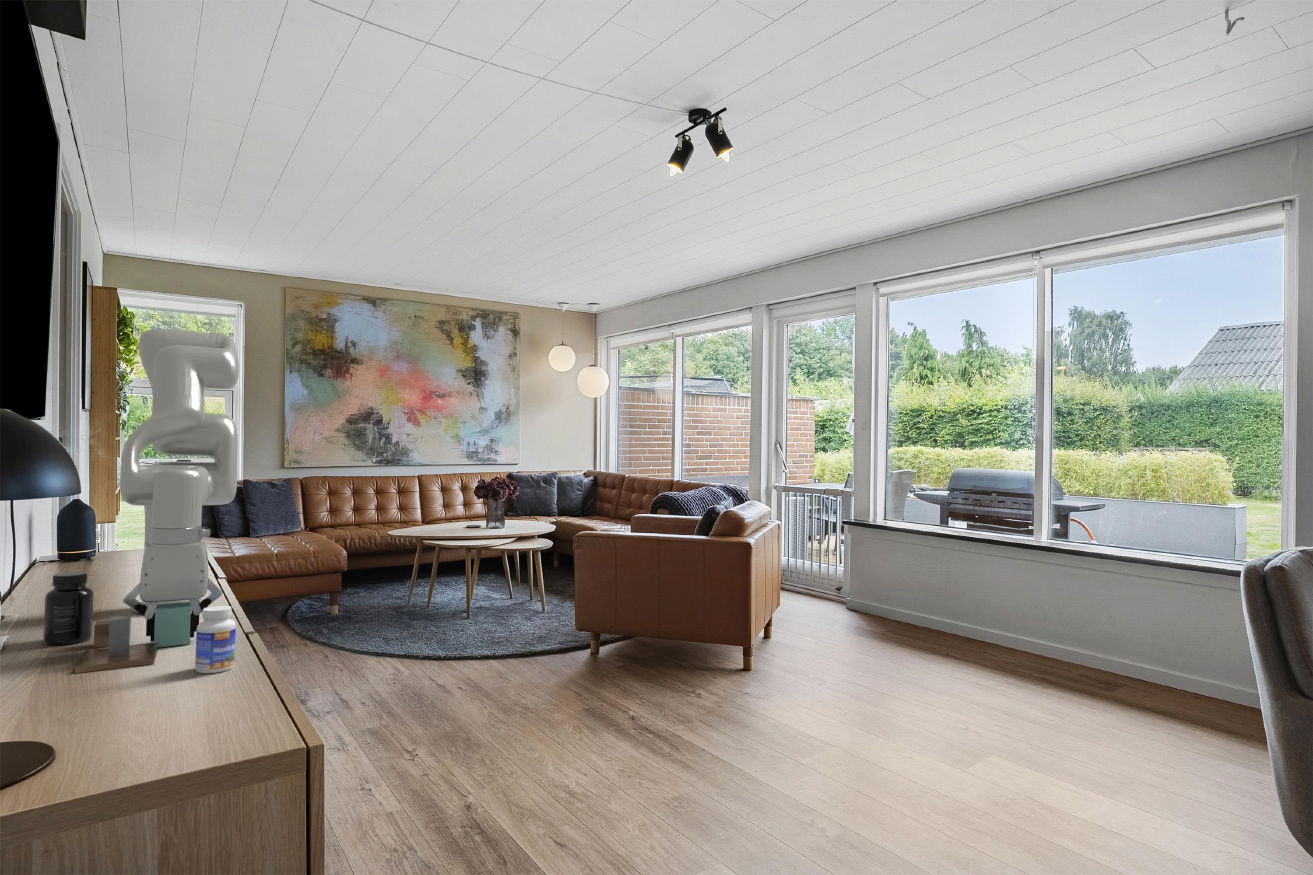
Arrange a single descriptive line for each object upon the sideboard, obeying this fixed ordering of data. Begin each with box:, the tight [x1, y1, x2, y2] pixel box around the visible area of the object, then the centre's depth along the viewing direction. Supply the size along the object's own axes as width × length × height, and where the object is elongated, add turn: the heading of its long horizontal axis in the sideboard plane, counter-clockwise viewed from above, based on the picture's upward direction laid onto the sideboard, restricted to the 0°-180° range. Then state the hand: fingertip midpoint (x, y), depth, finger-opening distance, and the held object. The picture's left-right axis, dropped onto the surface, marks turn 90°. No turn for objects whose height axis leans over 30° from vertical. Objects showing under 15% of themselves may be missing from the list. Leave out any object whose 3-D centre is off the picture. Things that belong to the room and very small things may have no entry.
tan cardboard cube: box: [93, 619, 110, 649], centre depth 126 cm, size 3×3×4 cm
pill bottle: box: [194, 605, 237, 674], centre depth 115 cm, size 5×5×10 cm
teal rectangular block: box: [153, 601, 192, 648], centre depth 128 cm, size 5×5×7 cm
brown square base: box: [74, 615, 159, 674], centre depth 118 cm, size 10×10×7 cm
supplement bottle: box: [43, 571, 94, 646], centre depth 128 cm, size 7×7×12 cm
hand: (172, 636), depth 128 cm, fingers closed on teal rectangular block, 5 cm apart
